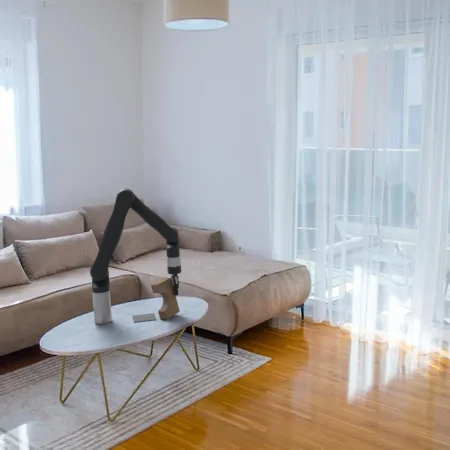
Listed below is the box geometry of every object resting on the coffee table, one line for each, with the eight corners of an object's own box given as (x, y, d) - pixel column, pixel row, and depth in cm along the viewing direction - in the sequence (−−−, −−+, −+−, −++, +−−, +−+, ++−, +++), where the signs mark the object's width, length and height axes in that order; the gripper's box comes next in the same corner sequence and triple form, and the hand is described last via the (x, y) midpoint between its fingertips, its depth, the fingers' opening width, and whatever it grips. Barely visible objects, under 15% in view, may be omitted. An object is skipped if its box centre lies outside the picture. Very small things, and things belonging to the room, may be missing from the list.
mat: (134, 322, 320) (134, 321, 320) (132, 316, 331) (132, 315, 331) (156, 320, 323) (156, 319, 323) (154, 313, 333) (153, 313, 333)
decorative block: (166, 319, 320) (157, 284, 317) (159, 319, 324) (150, 284, 321) (180, 311, 328) (171, 277, 325) (173, 311, 332) (164, 277, 329)
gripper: (165, 262, 328) (167, 292, 331) (168, 268, 315) (171, 299, 318) (178, 261, 329) (181, 291, 332) (182, 266, 317) (184, 297, 320)
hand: (176, 295), depth 325 cm, fingers closed
